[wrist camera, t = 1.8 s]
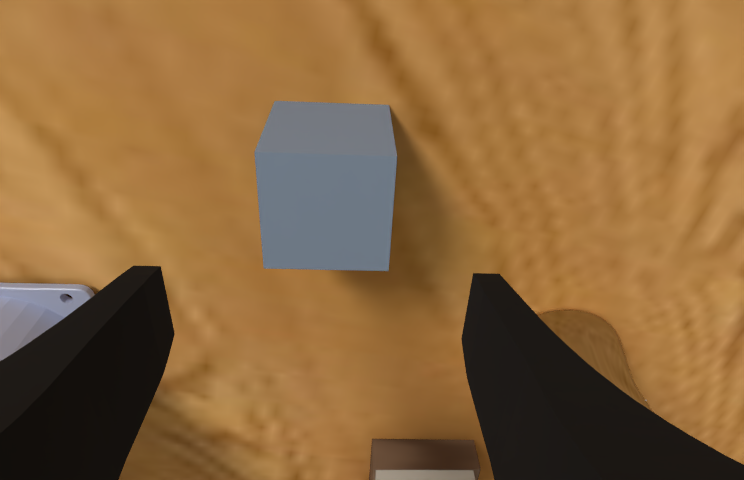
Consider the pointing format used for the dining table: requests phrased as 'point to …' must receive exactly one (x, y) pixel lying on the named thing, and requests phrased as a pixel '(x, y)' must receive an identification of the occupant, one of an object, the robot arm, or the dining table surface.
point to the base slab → (423, 455)
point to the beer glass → (595, 346)
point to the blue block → (326, 186)
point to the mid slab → (424, 475)
